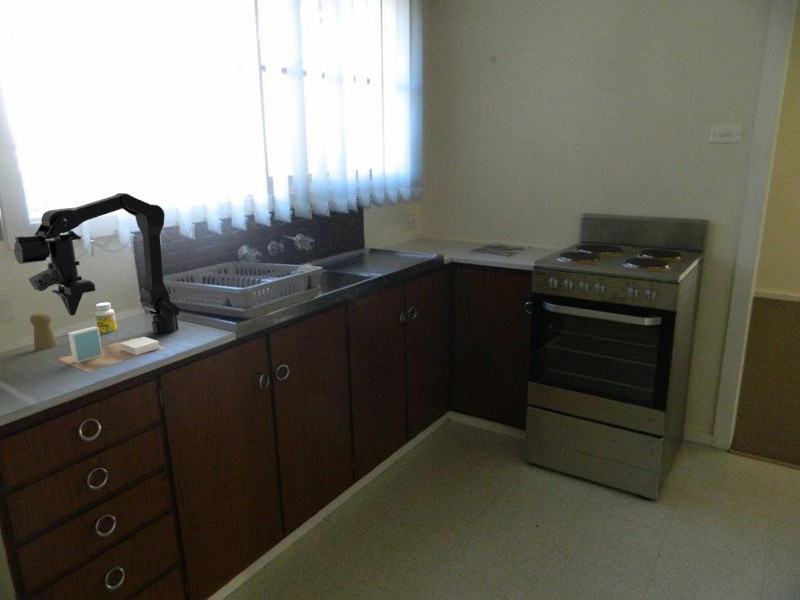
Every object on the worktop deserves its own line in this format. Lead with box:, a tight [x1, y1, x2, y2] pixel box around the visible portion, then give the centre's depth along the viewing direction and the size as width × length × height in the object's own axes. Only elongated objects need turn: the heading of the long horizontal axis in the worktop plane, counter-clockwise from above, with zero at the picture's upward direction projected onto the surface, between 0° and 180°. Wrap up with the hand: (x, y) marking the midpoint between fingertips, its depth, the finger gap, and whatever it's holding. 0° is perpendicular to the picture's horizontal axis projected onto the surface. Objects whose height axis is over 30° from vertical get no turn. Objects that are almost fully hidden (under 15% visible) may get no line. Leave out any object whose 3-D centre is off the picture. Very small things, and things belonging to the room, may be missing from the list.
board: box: [57, 337, 167, 373], centre depth 162 cm, size 22×17×1 cm
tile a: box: [120, 336, 161, 355], centre depth 164 cm, size 7×2×8 cm
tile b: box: [67, 325, 103, 363], centre depth 157 cm, size 7×2×8 cm, turn 142°
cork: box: [29, 311, 58, 352], centre depth 169 cm, size 6×6×11 cm
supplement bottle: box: [94, 301, 118, 335], centre depth 183 cm, size 5×5×10 cm
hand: (72, 315), depth 159 cm, fingers closed
